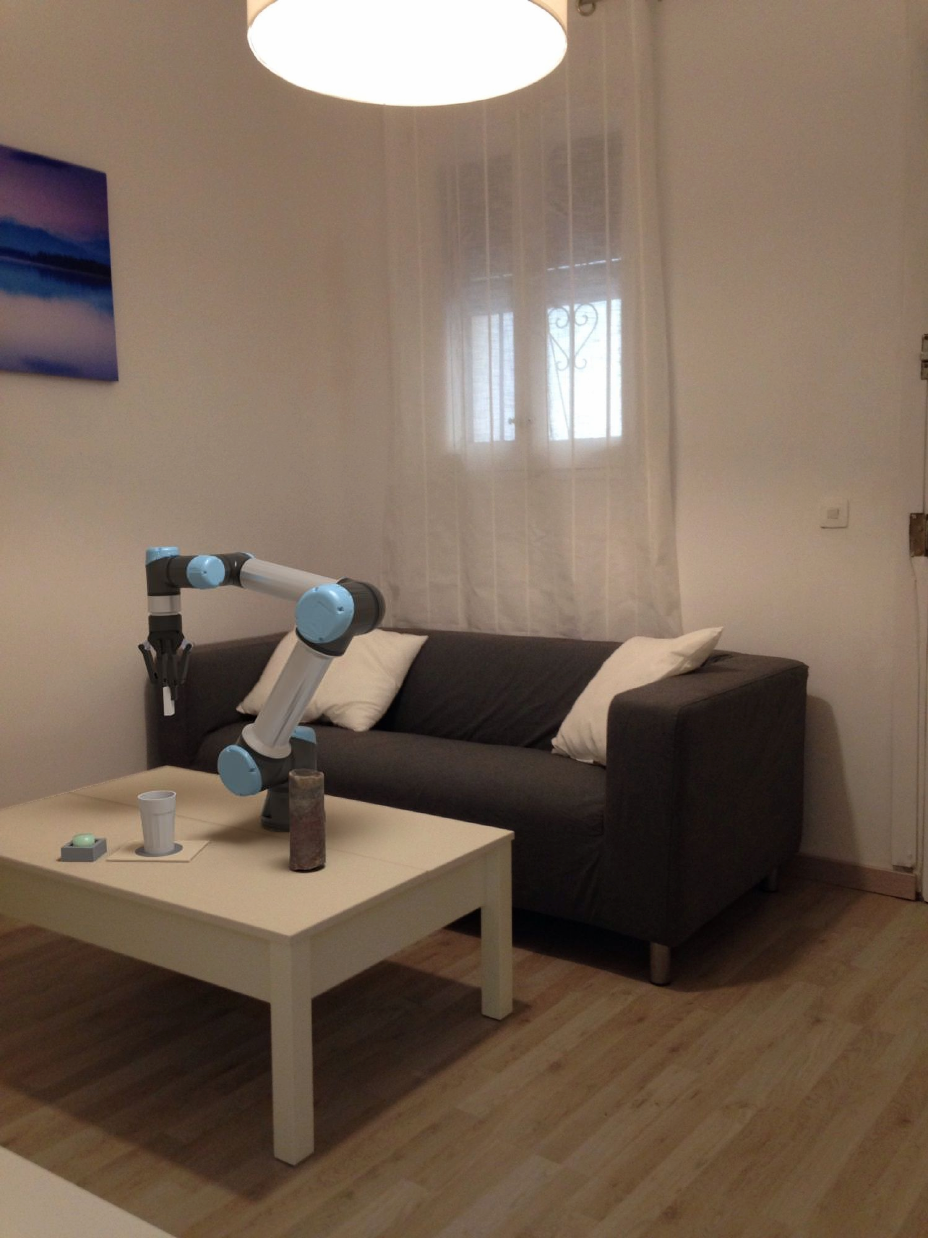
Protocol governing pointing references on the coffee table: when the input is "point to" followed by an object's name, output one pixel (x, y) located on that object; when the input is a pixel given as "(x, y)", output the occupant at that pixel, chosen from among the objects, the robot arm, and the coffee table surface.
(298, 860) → the brown tall cylinder
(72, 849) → the button housing
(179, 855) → the sheet
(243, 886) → the coffee table surface
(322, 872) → the coffee table surface
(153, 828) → the cup
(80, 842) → the button
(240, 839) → the coffee table surface
